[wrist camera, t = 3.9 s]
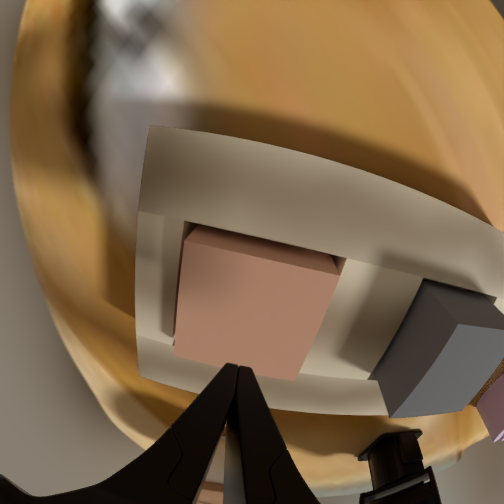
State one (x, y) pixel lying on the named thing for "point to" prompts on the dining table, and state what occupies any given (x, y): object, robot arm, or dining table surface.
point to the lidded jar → (214, 478)
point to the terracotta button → (250, 301)
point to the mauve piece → (493, 409)
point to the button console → (307, 236)
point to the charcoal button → (440, 352)
